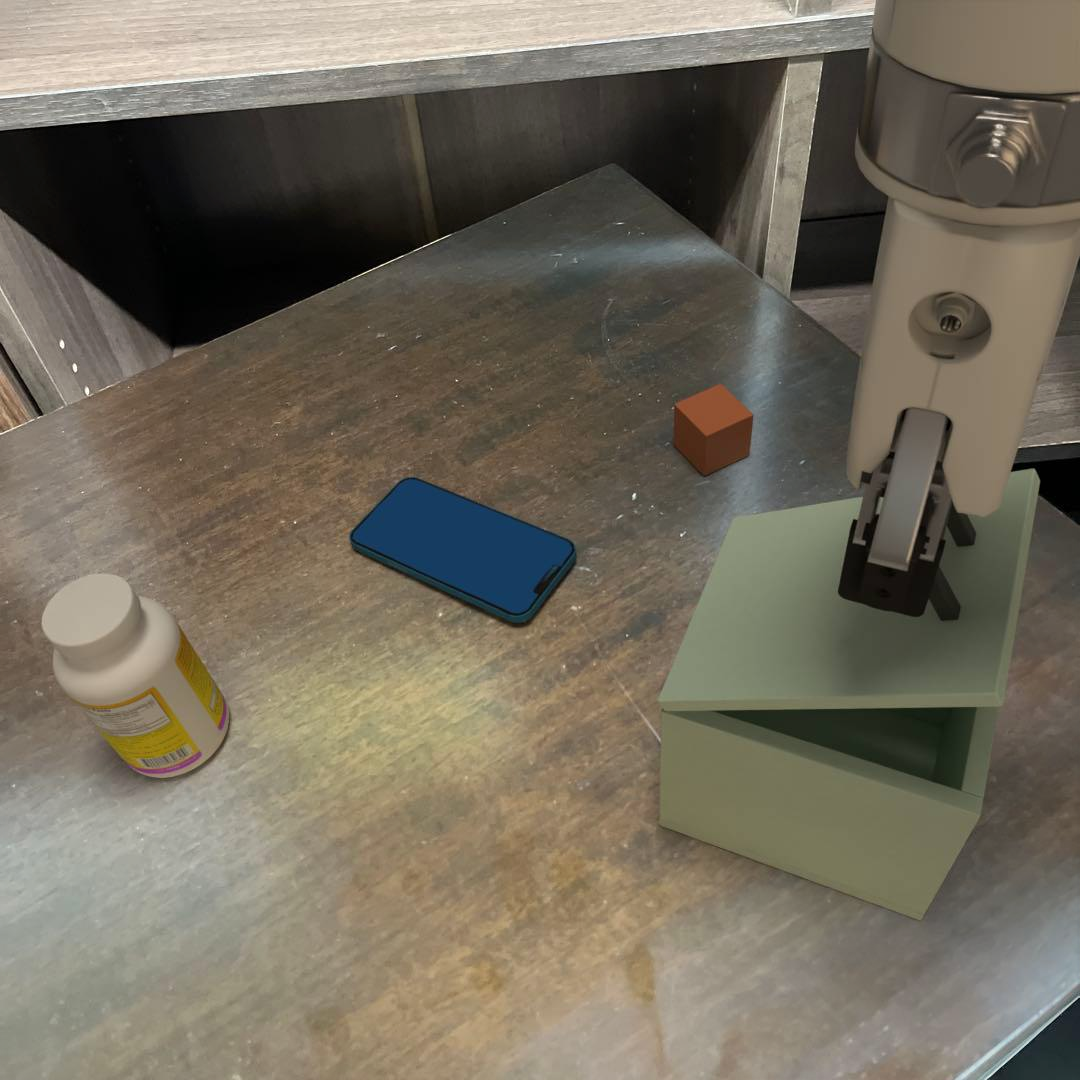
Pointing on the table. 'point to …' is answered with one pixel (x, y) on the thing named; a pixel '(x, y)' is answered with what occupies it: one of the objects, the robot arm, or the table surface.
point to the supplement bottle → (134, 675)
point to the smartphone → (465, 548)
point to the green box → (832, 792)
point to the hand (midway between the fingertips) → (895, 544)
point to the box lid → (853, 616)
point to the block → (712, 429)
